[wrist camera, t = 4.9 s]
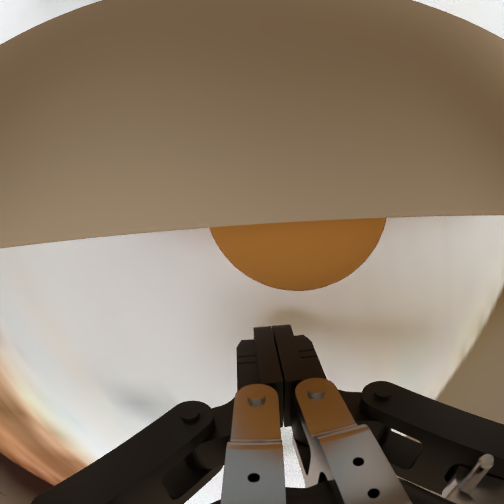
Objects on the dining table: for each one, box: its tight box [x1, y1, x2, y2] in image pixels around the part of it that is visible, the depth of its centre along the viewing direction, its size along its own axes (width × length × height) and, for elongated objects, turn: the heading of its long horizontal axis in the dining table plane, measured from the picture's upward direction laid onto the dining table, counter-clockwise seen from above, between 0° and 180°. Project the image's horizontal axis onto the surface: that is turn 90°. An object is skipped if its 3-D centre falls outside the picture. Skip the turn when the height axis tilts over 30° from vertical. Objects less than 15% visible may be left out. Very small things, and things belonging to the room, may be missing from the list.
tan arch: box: [0, 0, 504, 248], centre depth 8 cm, size 3×15×10 cm, turn 93°
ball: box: [210, 217, 387, 291], centre depth 10 cm, size 6×6×6 cm
